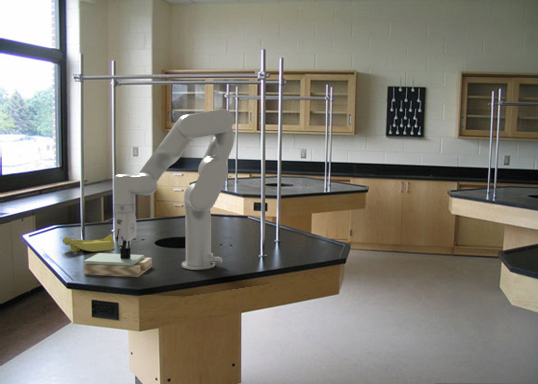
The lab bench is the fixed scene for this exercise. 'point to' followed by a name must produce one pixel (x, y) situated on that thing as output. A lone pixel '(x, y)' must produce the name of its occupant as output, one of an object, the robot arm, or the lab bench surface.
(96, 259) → the plate
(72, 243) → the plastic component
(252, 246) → the lab bench surface
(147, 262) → the base
